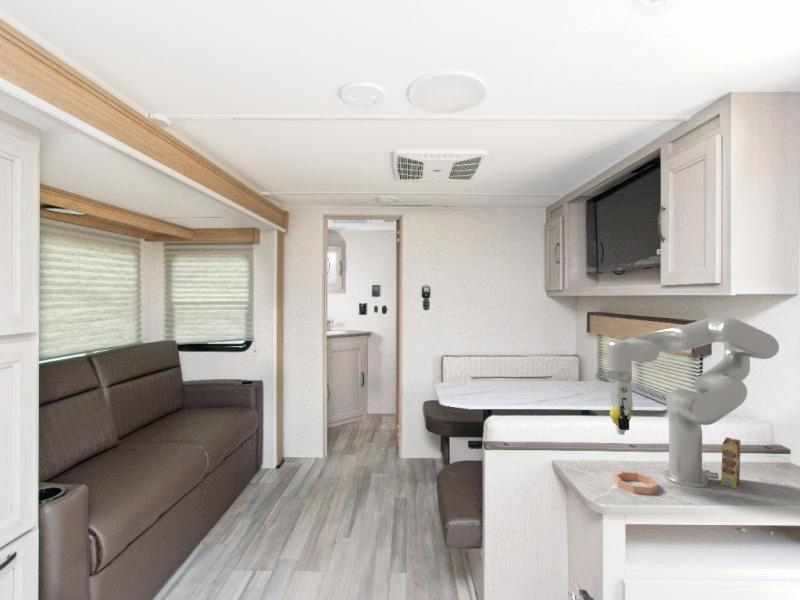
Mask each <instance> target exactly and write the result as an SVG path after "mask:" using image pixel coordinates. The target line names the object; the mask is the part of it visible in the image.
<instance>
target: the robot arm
mask: <svg viewBox="0 0 800 600" xmlns="http://www.w3.org/2000/svg"><path fill="white" fill-rule="evenodd" d="M714 343H723V348H724V352H723V353H724V354H723V357H722V358H721V360H720V361H719V362H718V363H717V364H715V365H713V367H711V368H709V369H707V371H705V372H704V373H702V374H701V375H699V376H698V377H697V378H695V381H694V383H693V388H694V391H692V390H689V389H686V388H685V389H684V388H675V389H673V390H671V391H670V392H669V393H668V394H667V396H666V399H665V405H666V411H667V417H668V418H667V419H668V469H666V470H664V471H663V476H664V478H665V479H666V480H668V481H670V483H671V482H672V483H673V484H676V485H680V486H684V487H688V488H705V487H707V486H708V484H709V481H708V479H719V478H720V476H719V474H718V472H713V471H712V472H711V471H710V470H709V469H703V431H702V430H703V429H702V428H703V427H702V426H709V425H713V424H715V423H717V422H719V421H720V420H722V419H723V418H725V417H726V416H727V415H729V414H730V413H732V412H733V411H735V410H736V409H738V408H739V407H740V406H742V405H743V404H744V402H745V401H746V399H747V396H748V388H747V386H746V384H745V383H744V382H743V381H744V380H745V379H746V378H747V377H748V376H749V374H750V372H751V358H753V359H758V360H767V359H772V358H774V357H775V356H777V354H778V352H779V350H780V344H779V341H778V340H777V339H776V338H775V337H774V336H773V335H771V334H770V333H767V332H765V331H764V330H761V329H758V328H757V327H754V326H752V325H750V324H748V323H745V322H744V321H741V320H738V319H736V318H731V317H718V316H715V317H714V316H712V317H708V318H703V319H700V320H696V321H693V322H690V323H686V324H682V325H680V326H675V327H671V328H670V327H669V328H665V329H661V330H655V331H651V332H650V331H649V332H645V333H642V334H641V333H640V334H638V335H636V336H632V337H629V338H627V339H625V340H617V339H615V340H609V341H608V342H607V346H606V351H607V353H606V354H607V380H608V381H610V384H609V385H610V386H609V387H610V391H609V393H610V395H609V396H610V403H611V405H612V407H615V408H617V409H618V410H619V417H620V418H618V422H619V429H620V430H626V431H630V421H629V411H633V410H634V407H633V405H634V403H633V391H632V384H631V382H633V369H632V368H633V367H632V365H633V364H632V363H633V362H640V363H650V362H654V361H655V360H657V359H658V357H659V355H660V352H684V351H689V350H693V349H696V348H700V347H703V346H706V345H710V344H714ZM620 407H621V408H624V409H621V408H620ZM621 411H624V412H622V413H621ZM612 423H613V424H615V423H614V422H613V421H612Z"/></svg>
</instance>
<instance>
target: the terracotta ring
mask: <svg viewBox="0 0 800 600" xmlns="http://www.w3.org/2000/svg"><path fill="white" fill-rule="evenodd" d="M626 481H636V482H639V483H642V484H645V485H648V486H645V485H637V484H631V483H629V482H626ZM613 483H614V484H615V486H616V487H617V488H618V489H620V490H623V491H627V492H629V493H632V494H636V495H640V494H641V495H653V494H655V493H656V492H658V491H659V484H658V483H657V481H656V480H655V479H654V478H653V477H651V476H648V475H645V474H642V473H641V472H640V473H639V472H637V471H625V470H621V471H618V472H616V473H613Z"/></svg>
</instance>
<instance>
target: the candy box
mask: <svg viewBox="0 0 800 600" xmlns="http://www.w3.org/2000/svg"><path fill="white" fill-rule="evenodd" d="M741 442H742V441H741V439H738V438H734V437H725V439H724V441H723V442H722V448H721V449H722V450H721V475H720V476H721V481H720V482H721V483H720V485H721V486H724V485H725V487H728V486H729V487H728V488H732V487H733V489H737V487H738V485H739V483H738V482H740V475H741V474H740V473H741V471H740V470H741V469H740V468H741ZM737 484H738V485H737Z"/></svg>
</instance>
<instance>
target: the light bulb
mask: <svg viewBox="0 0 800 600" xmlns="http://www.w3.org/2000/svg"><path fill="white" fill-rule="evenodd" d="M620 408H621V407H620ZM621 409H624V408H621ZM622 412H624V411H621V413H622ZM609 416H610V418H611V420H612V423H613V422H614V423H613V424H614V425H615V431H616V434H617V435H621V436H623V435H625V432H627V430H620V429H619V422H618V418H620V417H619V410H618V409H617V408H615V407H613V406H612V408H610V410H609ZM631 418H632V413H631V410H629V422H630V420H631Z"/></svg>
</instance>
